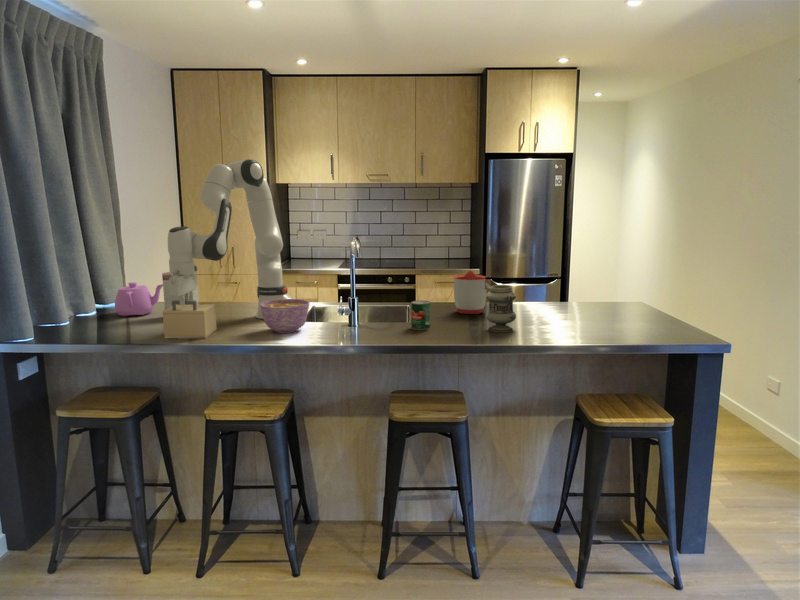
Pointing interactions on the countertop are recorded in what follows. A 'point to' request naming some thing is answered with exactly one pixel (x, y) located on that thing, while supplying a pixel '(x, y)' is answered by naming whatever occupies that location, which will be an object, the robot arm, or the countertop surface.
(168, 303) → the cracker box
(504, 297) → the apothecary jar
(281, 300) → the bowl of food
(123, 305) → the teapot
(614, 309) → the countertop surface
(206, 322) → the open wooden box
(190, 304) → the wooden box lid
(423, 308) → the canned tomato
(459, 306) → the citrus juicer
